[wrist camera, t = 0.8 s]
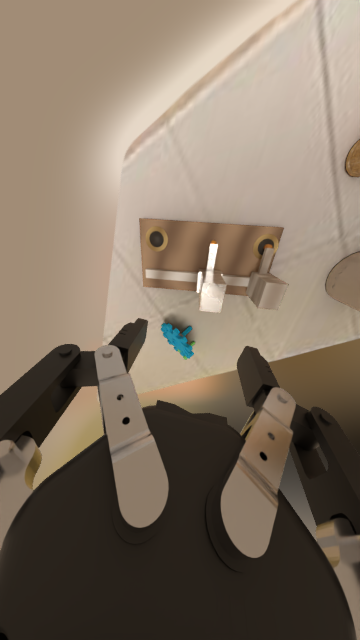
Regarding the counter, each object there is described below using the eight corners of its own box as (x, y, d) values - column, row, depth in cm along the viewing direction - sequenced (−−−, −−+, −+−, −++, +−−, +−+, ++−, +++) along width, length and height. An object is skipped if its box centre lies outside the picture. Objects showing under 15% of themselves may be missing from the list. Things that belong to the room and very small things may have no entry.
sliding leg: (225, 241, 27) (239, 246, 18) (216, 289, 31) (224, 313, 22) (201, 239, 27) (203, 243, 18) (196, 287, 31) (195, 310, 22)
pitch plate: (279, 227, 27) (317, 226, 18) (258, 294, 33) (279, 316, 24) (142, 218, 28) (118, 213, 20) (145, 284, 34) (128, 301, 26)
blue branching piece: (152, 321, 37) (179, 335, 29) (171, 307, 39) (199, 316, 32) (170, 352, 43) (196, 370, 35) (185, 338, 45) (212, 352, 38)
